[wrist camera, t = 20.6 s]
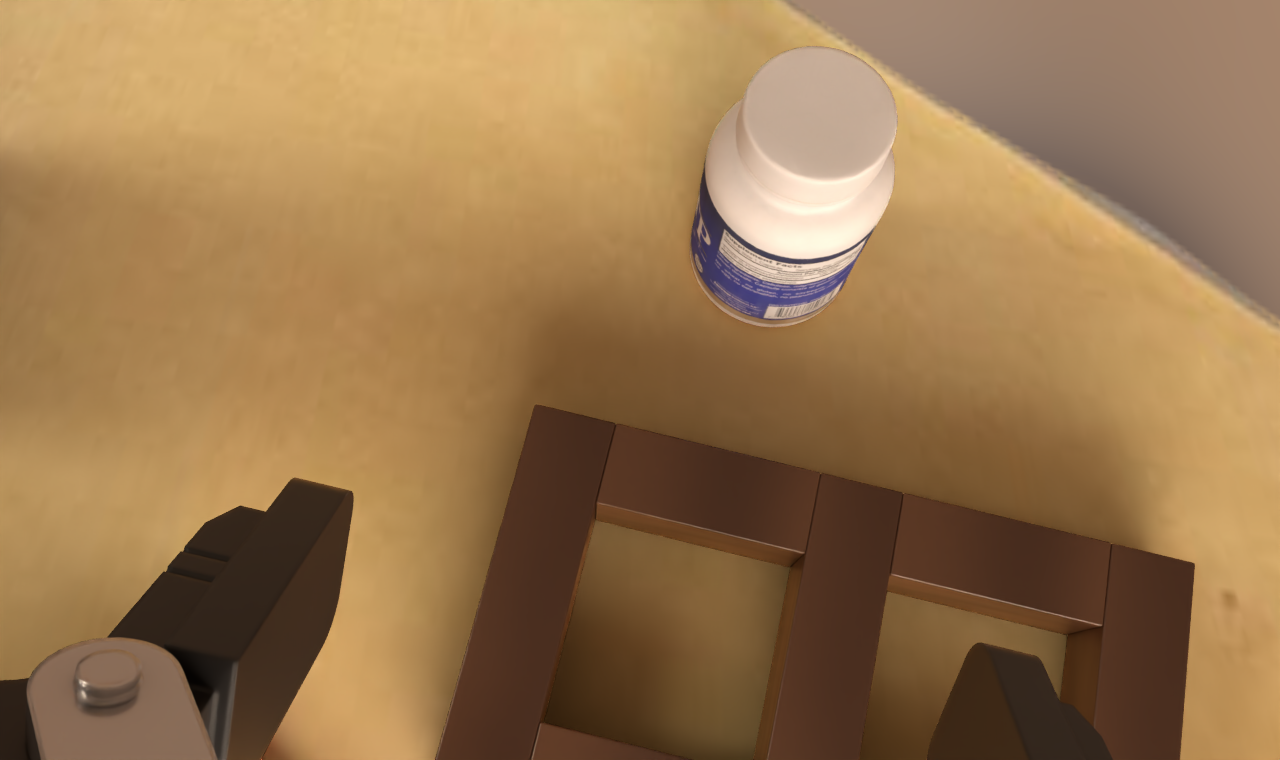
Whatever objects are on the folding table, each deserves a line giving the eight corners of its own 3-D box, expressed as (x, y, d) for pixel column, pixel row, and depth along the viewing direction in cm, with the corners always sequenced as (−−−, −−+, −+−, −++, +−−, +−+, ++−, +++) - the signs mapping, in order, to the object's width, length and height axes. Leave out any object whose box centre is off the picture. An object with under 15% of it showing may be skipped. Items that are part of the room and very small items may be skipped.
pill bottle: (713, 165, 37) (750, -4, 29) (864, 210, 37) (945, 53, 29) (667, 304, 36) (692, 168, 27) (824, 353, 36) (898, 231, 27)
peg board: (437, 790, 31) (425, 793, 29) (538, 426, 34) (534, 403, 32) (1118, 962, 30) (1164, 981, 28) (1153, 575, 34) (1196, 563, 31)
